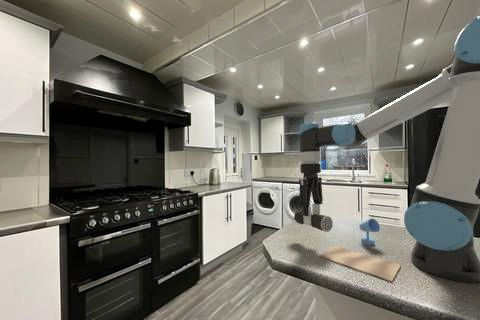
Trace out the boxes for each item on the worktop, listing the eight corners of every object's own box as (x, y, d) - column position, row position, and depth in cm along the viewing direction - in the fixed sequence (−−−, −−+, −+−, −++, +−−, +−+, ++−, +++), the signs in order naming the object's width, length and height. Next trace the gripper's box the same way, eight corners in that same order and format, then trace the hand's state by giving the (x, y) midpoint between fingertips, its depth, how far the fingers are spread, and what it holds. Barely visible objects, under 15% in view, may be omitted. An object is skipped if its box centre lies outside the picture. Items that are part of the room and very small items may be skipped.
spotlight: (382, 246, 76) (366, 239, 83) (381, 219, 76) (366, 215, 83) (371, 247, 75) (356, 240, 82) (370, 220, 75) (356, 215, 82)
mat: (400, 266, 61) (400, 265, 61) (391, 282, 53) (391, 280, 53) (333, 246, 76) (333, 245, 76) (318, 256, 68) (318, 255, 68)
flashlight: (293, 223, 84) (292, 210, 85) (303, 221, 87) (302, 209, 87) (322, 232, 70) (321, 217, 71) (333, 230, 73) (332, 215, 73)
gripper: (313, 163, 88) (315, 216, 88) (287, 163, 75) (289, 225, 74) (330, 162, 83) (332, 219, 82) (306, 162, 70) (308, 230, 69)
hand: (312, 222), depth 78 cm, fingers closed on flashlight, 6 cm apart
